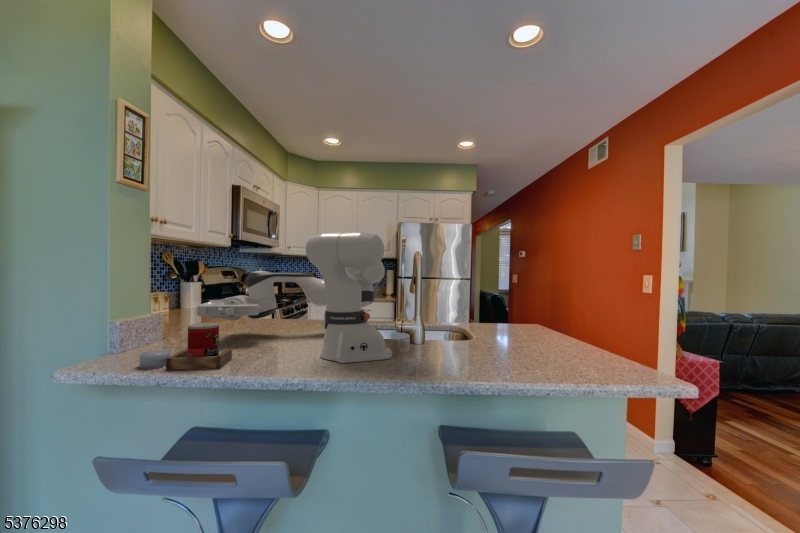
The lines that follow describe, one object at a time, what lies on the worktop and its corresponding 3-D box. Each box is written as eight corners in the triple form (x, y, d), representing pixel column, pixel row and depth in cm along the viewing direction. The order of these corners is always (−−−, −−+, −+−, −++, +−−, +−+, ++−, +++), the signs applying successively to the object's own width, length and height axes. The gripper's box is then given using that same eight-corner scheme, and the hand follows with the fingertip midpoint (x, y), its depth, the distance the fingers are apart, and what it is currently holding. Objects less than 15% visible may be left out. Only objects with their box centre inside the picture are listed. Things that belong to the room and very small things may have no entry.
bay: (231, 358, 104) (231, 348, 104) (220, 368, 94) (220, 357, 94) (183, 360, 102) (183, 350, 102) (166, 370, 92) (166, 358, 92)
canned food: (209, 366, 95) (209, 326, 95) (180, 366, 96) (181, 326, 96) (224, 359, 103) (224, 322, 103) (197, 359, 103) (198, 322, 103)
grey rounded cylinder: (174, 362, 100) (175, 349, 100) (162, 368, 93) (162, 356, 93) (148, 362, 99) (148, 350, 99) (133, 369, 92) (134, 356, 92)
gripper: (263, 316, 131) (255, 320, 118) (205, 317, 128) (189, 322, 114) (263, 299, 132) (255, 302, 118) (205, 300, 128) (190, 302, 114)
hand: (222, 312), depth 116 cm, fingers closed
